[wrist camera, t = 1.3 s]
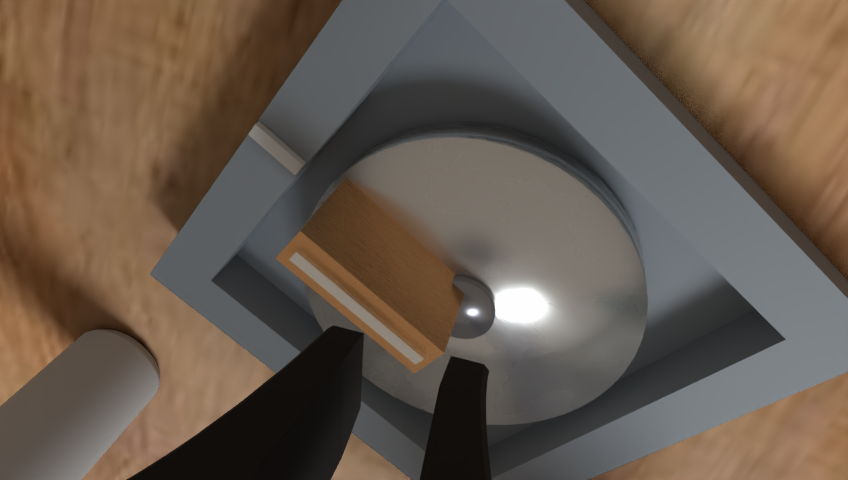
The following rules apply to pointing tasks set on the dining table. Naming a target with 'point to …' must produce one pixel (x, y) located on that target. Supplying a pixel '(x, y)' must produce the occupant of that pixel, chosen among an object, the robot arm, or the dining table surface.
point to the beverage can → (75, 407)
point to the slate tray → (580, 138)
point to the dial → (477, 269)
